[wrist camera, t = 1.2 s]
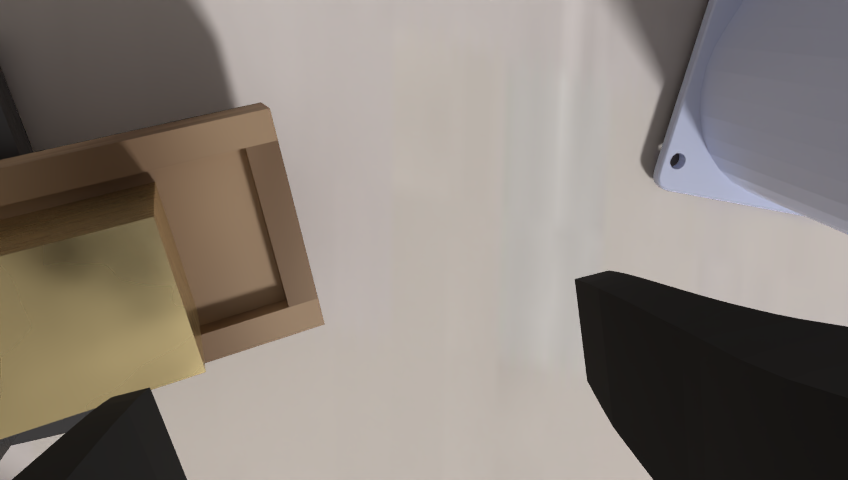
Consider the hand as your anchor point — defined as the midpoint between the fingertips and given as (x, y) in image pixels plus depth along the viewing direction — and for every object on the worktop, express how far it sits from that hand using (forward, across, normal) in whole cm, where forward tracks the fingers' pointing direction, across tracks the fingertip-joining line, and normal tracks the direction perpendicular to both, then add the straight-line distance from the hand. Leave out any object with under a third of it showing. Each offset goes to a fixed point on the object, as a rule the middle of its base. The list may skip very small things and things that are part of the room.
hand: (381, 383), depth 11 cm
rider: (+6, +7, -1) cm, 10 cm away
